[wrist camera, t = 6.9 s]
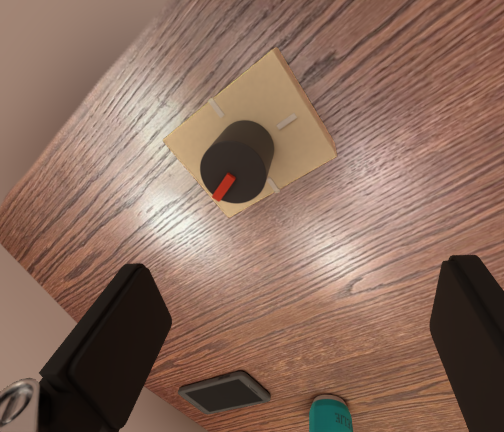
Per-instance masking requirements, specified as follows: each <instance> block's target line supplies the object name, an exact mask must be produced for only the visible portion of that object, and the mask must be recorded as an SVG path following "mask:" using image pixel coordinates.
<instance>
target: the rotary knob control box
mask: <svg viewBox="0 0 504 432" xmlns="http://www.w3.org/2000/svg"><path fill="white" fill-rule="evenodd" d="M241 120H249V121H253V122H256V123H258V124H260V125H261V126H263V127H264V128H265V129H266V130H267V131H268V132H269V134H270V135H271V137H272V140H273V143H274V156H273V159H272V163H271V166H270V169H269V173H268V176H267V180H266V183H265V186H264V188H263V190H262V191H261V193H260V194H259V195H258V196H257V197H256V198H254V199H253V200H251V201H248V202H245V203H240V204H234V203H228V202H225V201H222V200H220V202H218V201H217V200H215V199H214V198H212V194H211V193H210V192H209V191H208V189H207V188H206V187H205V185H204V183H203V181H202V178H201V174H200V163H201V159H202V157H203V155H204V153H205V152H206V151H207V149H208V148H209V147H210V146H211V145H212V144H213V142H214V141H215V140H216V139H217V138H218V137H219V135H220V134H221V133H222V132H223V131H224V130H225V129H226V127H228V126H229V125H230V124H232V123H234V122H236V121H241ZM163 142H164V143H165V144H166V145H167V147H168V148H169V149H170V150H171V151H172V152H173V154H174V155H175V156H176V157H177V158H178V160H179V161H180V162H181V163H182V164H183V165H184V167H185V168H186V169H187V170H188V171H189V173H190V174H191V175H192V176H193V177H194V178H195V180H196V181H197V182H198V183H199V184H200V186H201V187H202V188H203V189H204V190H205V191H206V193H207V194H208V195H209V196H210V197H211V198H212V200H213V201H214V202H215V203H216V204H217V206H218V207H219V208H220V209H221V210H222V211H223V213H224V214H225V215H226V216H227V217H228V218H230V217H231V216H233V215H235V214H237V213H239V212H240V211H242V210H244V209H246V208H247V207H249V206H251V205H253V204H254V203H256V202H258V201H260V200H261V199H263V198H265V197H267V196H269V195H270V194H272V193H274V192H275V193H276V194H277V193H279V192H280V190H279V189H281V188H283V187H284V186H286V185H288V184H290V183H291V182H293V181H295V180H297V179H299V178H300V177H302V176H304V175H306V174H307V173H309V172H311V171H313V170H314V169H316V168H318V167H320V166H321V165H323V164H325V163H327V162H329V161H330V160H332V159H334V158H336V157H337V152H336V147H335V143H334V141H333V139H332V137H331V136H330V134H329V132H328V131H327V129H326V127H325V126H324V124H323V122H322V121H321V119H320V117H319V116H318V114H317V112H316V111H315V109H314V107H313V106H312V104H311V102H310V101H309V99H308V97H307V96H306V94H305V92H304V91H303V89H302V87H301V86H300V84H299V82H298V81H297V79H296V77H295V76H294V74H293V72H292V71H291V69H290V67H289V66H288V64H287V62H286V61H285V59H284V57H283V56H282V54H281V52H280V51H279V49H278V48H277V47H276V48H274V49H272V50H271V51H269V52H268V53H267V54H266V55H265V56H263V57H262V58H261V59H260V60H258V61H257V62H256V63H255V64H254V65H252V66H251V67H250V68H249V69H248V70H246V71H245V72H244V73H243V74H242V75H240V76H239V77H238V78H237V79H235V80H234V81H233V82H232V83H231V84H229V85H228V86H227V87H226V88H225V89H223V90H222V91H221V92H220V93H219V94H217V95H216V96H215V97H214V98H212V97H211V98H210V99H209V100H208V103H206V104H205V105H204V106H203V107H202V108H200V109H199V110H198V111H197V112H196V113H194V114H193V115H192V116H191V117H189V118H188V119H187V120H186V121H185V122H183V123H182V124H181V125H180V126H179V127H177V128H176V129H175V130H174V131H172V132H171V133H170V134H169V135H168V136H166V137H165V138H164V139H163Z"/></svg>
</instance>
